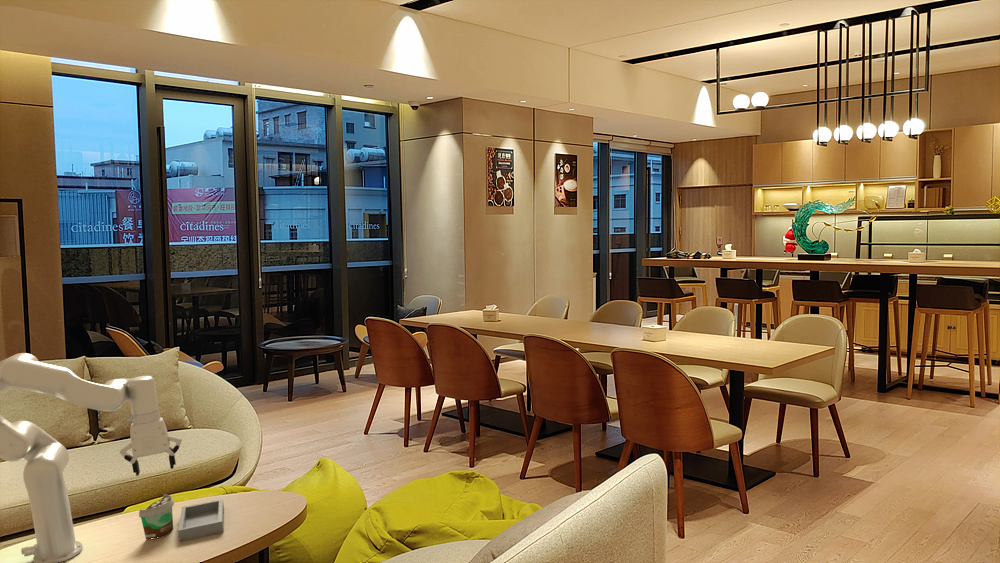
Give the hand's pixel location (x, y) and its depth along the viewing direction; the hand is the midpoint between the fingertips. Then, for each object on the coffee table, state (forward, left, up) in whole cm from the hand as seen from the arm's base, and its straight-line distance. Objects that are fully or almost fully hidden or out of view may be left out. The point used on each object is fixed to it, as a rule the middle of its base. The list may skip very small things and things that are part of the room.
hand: (155, 470), depth 225 cm
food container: (0, 0, -20) cm, 20 cm away
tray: (+11, 0, -20) cm, 23 cm away
